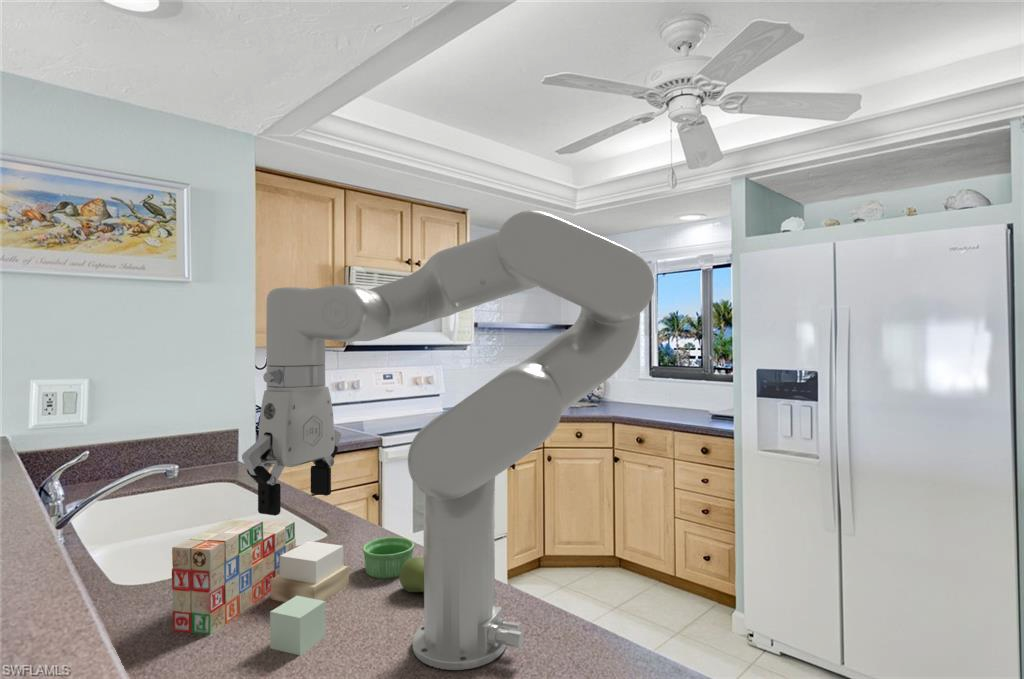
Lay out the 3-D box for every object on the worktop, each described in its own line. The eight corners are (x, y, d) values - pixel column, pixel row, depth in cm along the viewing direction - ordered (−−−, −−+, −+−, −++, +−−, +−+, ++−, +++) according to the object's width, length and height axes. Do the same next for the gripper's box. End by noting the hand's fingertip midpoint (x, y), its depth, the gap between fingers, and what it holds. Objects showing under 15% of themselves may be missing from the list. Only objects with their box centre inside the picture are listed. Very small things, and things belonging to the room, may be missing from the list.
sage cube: (325, 637, 78) (325, 601, 78) (300, 656, 74) (300, 617, 74) (297, 630, 80) (296, 595, 80) (270, 648, 75) (270, 611, 75)
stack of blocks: (264, 570, 101) (264, 502, 101) (296, 573, 100) (296, 503, 100) (171, 632, 80) (170, 545, 80) (210, 636, 79) (209, 548, 79)
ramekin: (398, 583, 95) (397, 557, 95) (352, 576, 98) (352, 551, 98) (423, 563, 104) (423, 539, 104) (380, 557, 107) (380, 534, 107)
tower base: (348, 587, 95) (348, 566, 95) (314, 610, 87) (313, 587, 87) (308, 579, 98) (308, 559, 98) (271, 601, 90) (270, 579, 90)
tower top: (343, 566, 95) (343, 545, 95) (316, 583, 88) (316, 561, 88) (309, 561, 97) (309, 541, 97) (279, 577, 90) (279, 555, 90)
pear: (417, 548, 96) (463, 570, 91) (413, 577, 97) (459, 601, 91) (394, 559, 91) (442, 582, 86) (390, 590, 92) (437, 615, 87)
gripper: (268, 384, 68) (269, 526, 68) (358, 375, 84) (358, 490, 84) (222, 382, 70) (222, 519, 71) (317, 374, 87) (317, 485, 87)
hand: (296, 503), depth 77 cm, fingers open, 9 cm apart
